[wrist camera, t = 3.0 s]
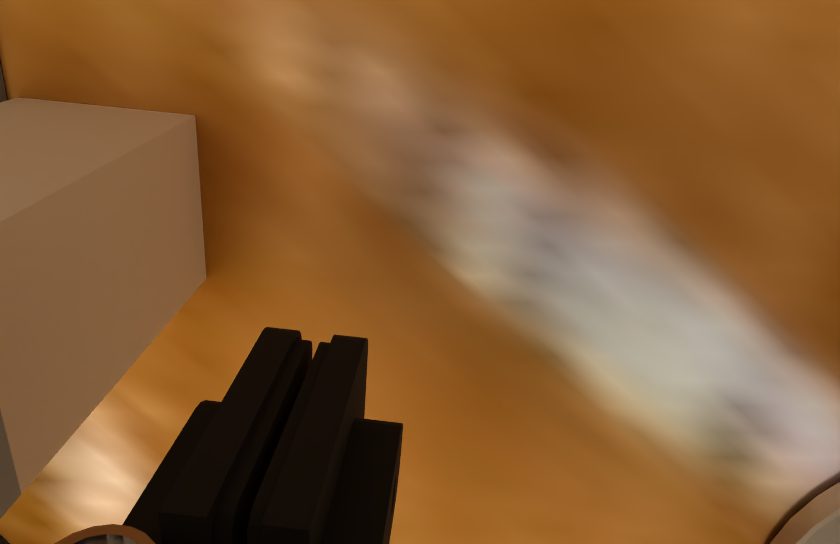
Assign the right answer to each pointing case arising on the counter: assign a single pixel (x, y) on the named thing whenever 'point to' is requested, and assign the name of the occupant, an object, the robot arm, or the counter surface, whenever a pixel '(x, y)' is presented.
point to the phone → (3, 540)
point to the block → (86, 262)
